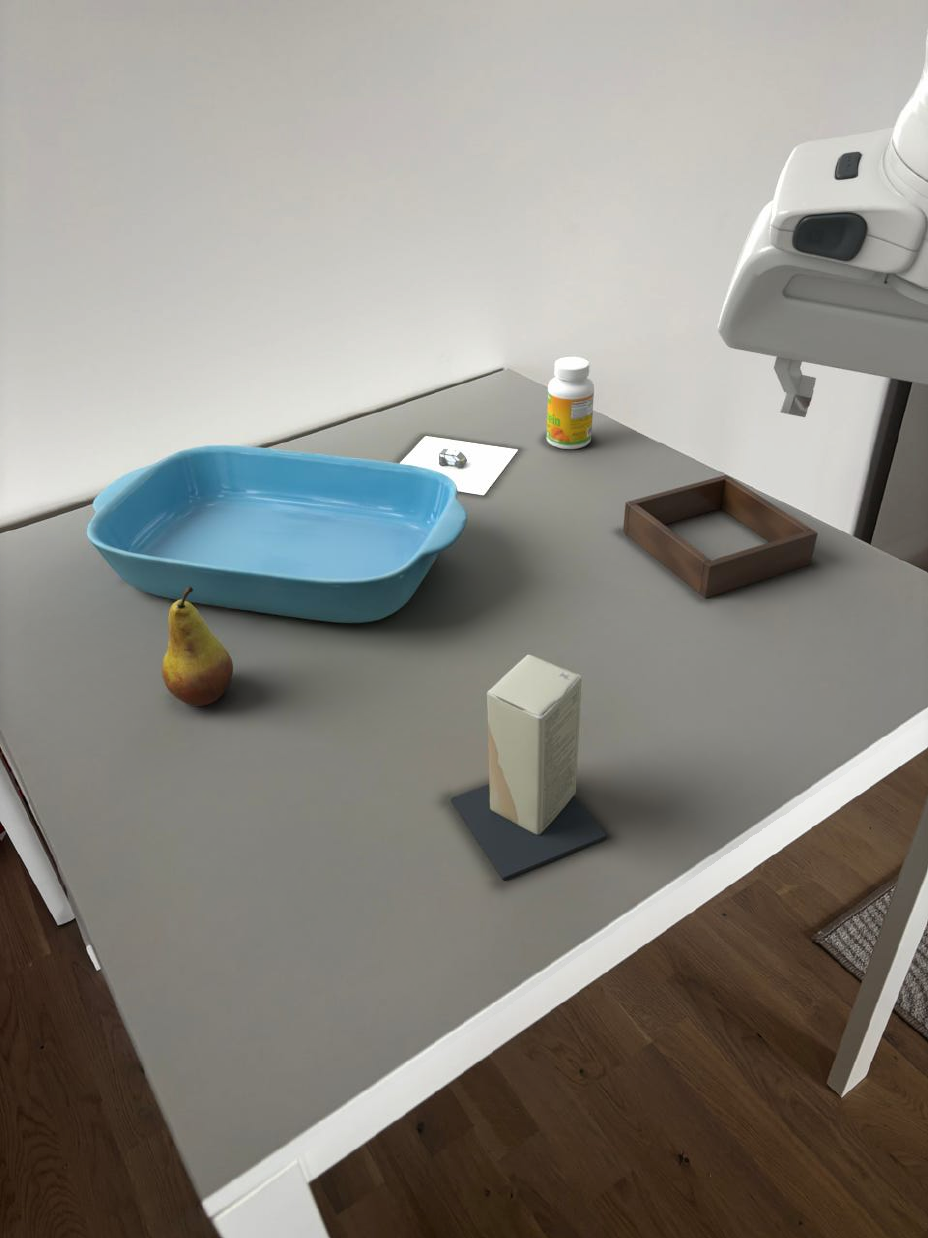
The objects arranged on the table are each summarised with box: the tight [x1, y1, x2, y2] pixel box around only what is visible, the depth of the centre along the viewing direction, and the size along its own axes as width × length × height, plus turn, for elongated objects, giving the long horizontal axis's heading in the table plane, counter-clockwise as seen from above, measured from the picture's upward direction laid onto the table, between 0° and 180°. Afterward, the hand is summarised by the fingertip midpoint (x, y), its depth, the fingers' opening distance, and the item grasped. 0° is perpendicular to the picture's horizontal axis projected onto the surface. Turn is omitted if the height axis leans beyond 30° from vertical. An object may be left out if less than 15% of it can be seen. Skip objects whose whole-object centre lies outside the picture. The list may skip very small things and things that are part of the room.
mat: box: [450, 783, 608, 881], centre depth 68 cm, size 8×8×1 cm
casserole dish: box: [86, 444, 468, 624], centre depth 93 cm, size 37×22×7 cm, turn 74°
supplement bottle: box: [546, 356, 595, 450], centre depth 114 cm, size 5×5×10 cm
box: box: [486, 654, 582, 835], centre depth 65 cm, size 5×4×11 cm
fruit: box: [161, 586, 234, 707], centre depth 76 cm, size 6×6×12 cm
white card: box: [399, 435, 519, 496], centre depth 112 cm, size 12×12×2 cm
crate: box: [622, 474, 818, 599], centre depth 95 cm, size 14×13×4 cm
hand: (876, 424), depth 57 cm, fingers open, 8 cm apart
